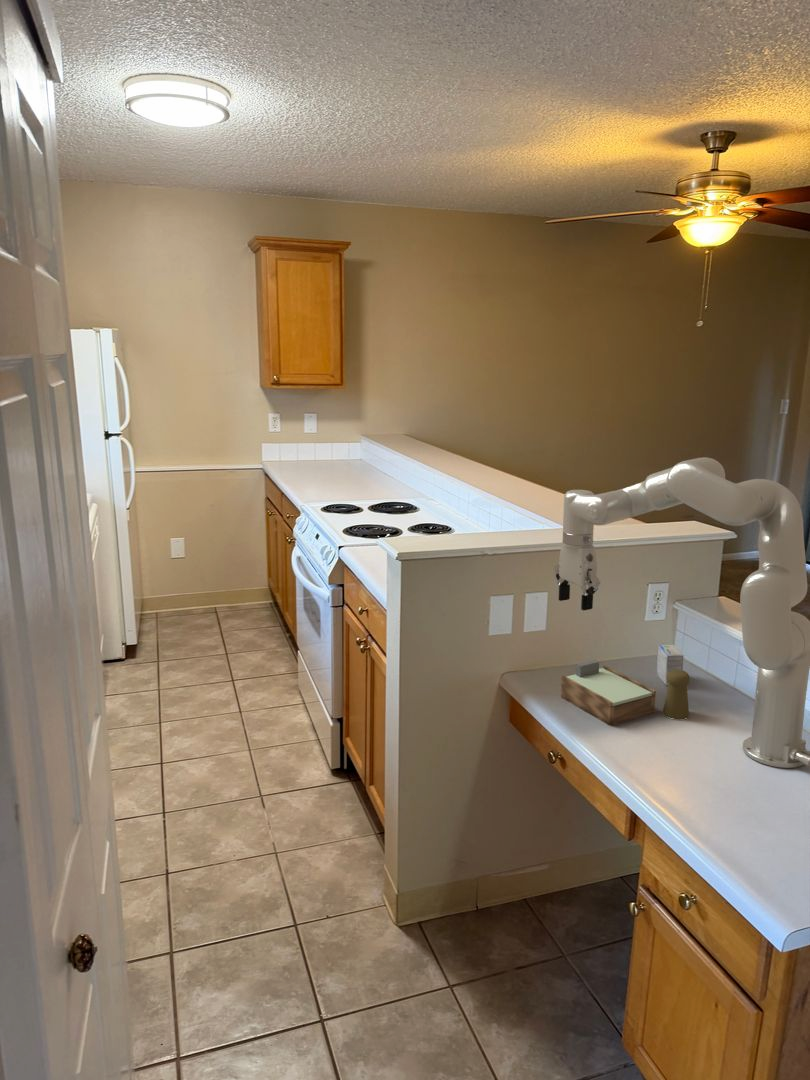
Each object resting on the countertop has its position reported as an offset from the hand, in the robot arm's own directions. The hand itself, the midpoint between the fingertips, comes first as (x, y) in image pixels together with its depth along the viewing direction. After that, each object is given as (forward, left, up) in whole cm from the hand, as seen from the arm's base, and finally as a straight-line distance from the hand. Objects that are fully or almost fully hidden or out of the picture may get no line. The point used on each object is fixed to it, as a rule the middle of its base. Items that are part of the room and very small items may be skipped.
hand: (575, 604), depth 194 cm
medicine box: (-10, -25, -23) cm, 35 cm away
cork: (-26, -11, -23) cm, 36 cm away
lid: (-14, 0, -18) cm, 22 cm away
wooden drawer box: (-14, 0, -22) cm, 26 cm away
